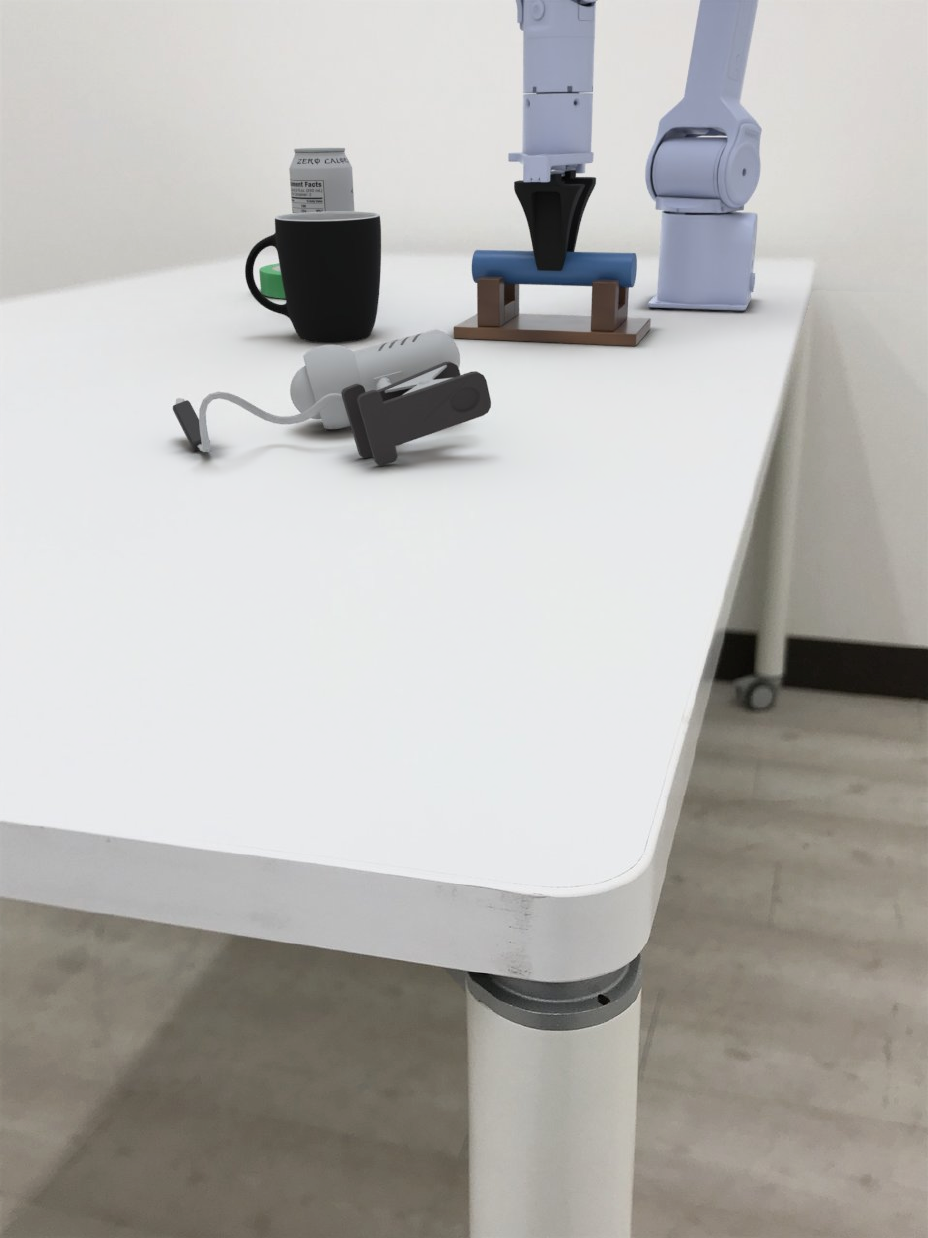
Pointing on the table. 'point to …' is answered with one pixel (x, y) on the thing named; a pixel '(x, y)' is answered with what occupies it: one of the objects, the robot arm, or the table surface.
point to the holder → (553, 318)
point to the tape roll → (272, 281)
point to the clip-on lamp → (371, 394)
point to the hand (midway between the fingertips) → (554, 267)
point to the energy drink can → (321, 180)
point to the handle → (574, 273)
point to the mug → (325, 273)
